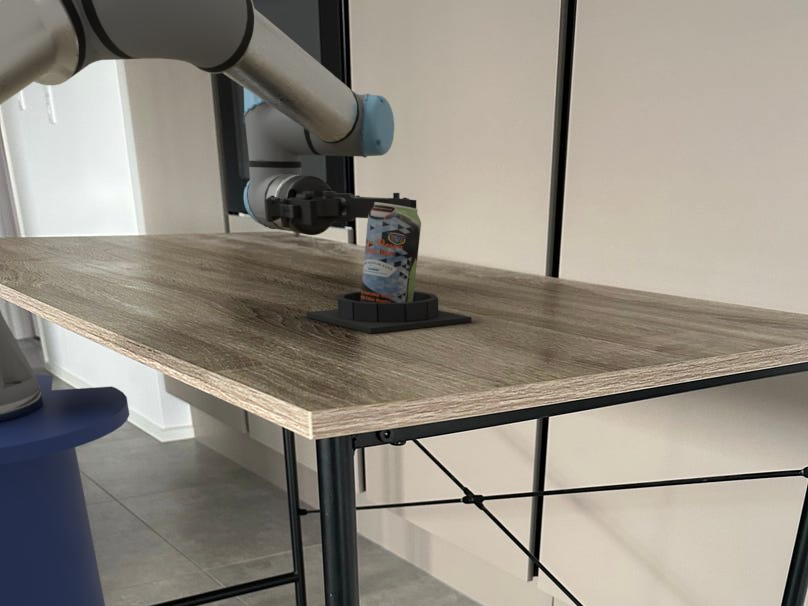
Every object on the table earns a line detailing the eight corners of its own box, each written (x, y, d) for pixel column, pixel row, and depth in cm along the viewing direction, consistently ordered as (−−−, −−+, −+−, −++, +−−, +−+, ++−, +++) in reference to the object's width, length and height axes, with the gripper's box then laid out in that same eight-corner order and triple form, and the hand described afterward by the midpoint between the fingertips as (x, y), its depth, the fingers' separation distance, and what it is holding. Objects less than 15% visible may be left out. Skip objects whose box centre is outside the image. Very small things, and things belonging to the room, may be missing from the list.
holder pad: (371, 333, 102) (370, 308, 101) (306, 317, 112) (304, 294, 111) (471, 322, 110) (471, 298, 109) (403, 307, 120) (402, 286, 118)
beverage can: (350, 314, 110) (345, 201, 105) (398, 308, 115) (395, 200, 110) (384, 320, 106) (380, 204, 101) (432, 314, 111) (431, 202, 106)
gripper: (382, 231, 140) (452, 242, 124) (217, 235, 128) (271, 248, 112) (380, 175, 137) (452, 179, 120) (211, 174, 125) (265, 178, 109)
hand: (365, 212), depth 116 cm, fingers open, 13 cm apart
